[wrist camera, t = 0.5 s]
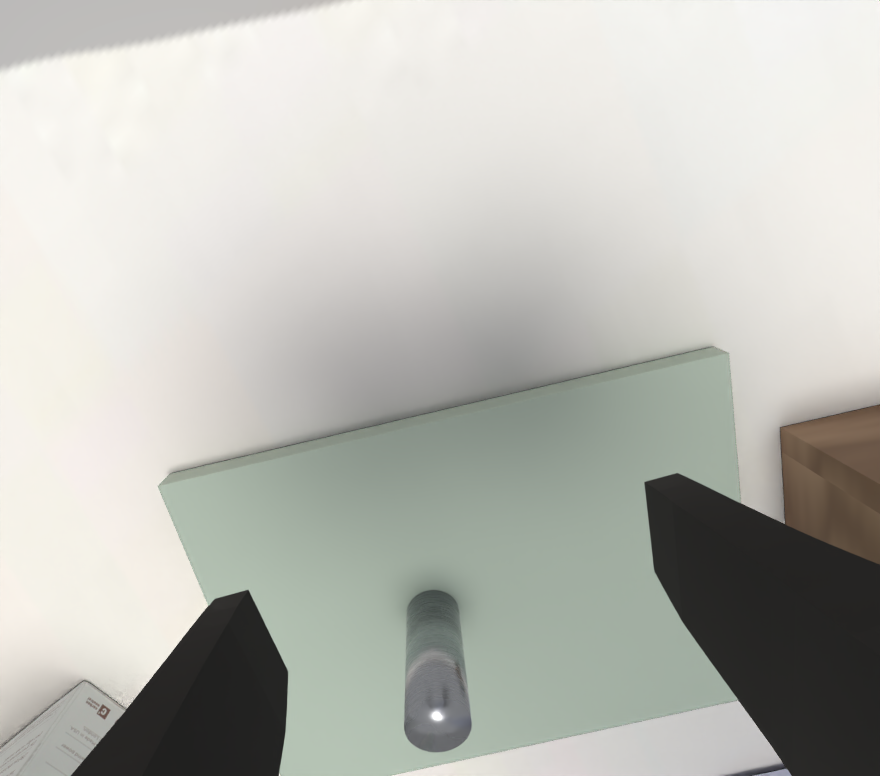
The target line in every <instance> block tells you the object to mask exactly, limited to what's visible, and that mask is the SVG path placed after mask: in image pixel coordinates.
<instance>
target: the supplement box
mask: <svg viewBox="0 0 880 776" xmlns="http://www.w3.org/2000/svg"><path fill="white" fill-rule="evenodd" d="M125 711H126V709H125V708H123V707H122V706H121V705H119V704H118V703H116V702H115V701H114V700H112V699H111V698H110V697H108V696H107V695H106V694H104V693H103V692H101V691H100V690H99V689H97V688H96V687H94V686H93V685H91V684H90V683H88V682H86V681H85V682H82V683H80V684H79V685H78V686H77V687H75V688H74V689H73V690H72V691H70V692H69V693H68V694H66V695H65V696H64V697H63V698H61V699H60V700H59V701H58V702H56V703H55V704H54V705H53V706H51V707H50V708H49V709H48V710H47V711H45V712H44V713H43V714H42V715H40V716H39V717H38V718H37V719H36V720H34V721H33V722H32V723H31V724H30V725H28V726H27V727H26V728H25V729H24V730H22V731H21V732H20V733H19V734H17V735H16V736H15V737H14V738H13V739H11V740H10V741H9V742H8V743H7V744H5V745H4V746H3V747H2V748H1V749H0V776H71V775H72V773H73V772H74V771H75V770H76V769H77V768H78V766H79V765H80V764H81V763H82V762H83V760H84V759H85V758H86V757H87V756H88V755H89V753H90V752H91V751H92V750H93V749H94V747H95V746H96V745H97V744H98V743H99V742H100V740H101V739H102V738H103V737H104V736H105V734H106V733H107V732H108V731H109V730H110V729H111V727H112V726H113V725H114V724H115V723H116V721H117V720H118V719H119V718H120V717H121V716H122V714H123V713H124V712H125Z"/></svg>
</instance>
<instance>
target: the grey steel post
mask: <svg viewBox="0 0 880 776" xmlns="http://www.w3.org/2000/svg"><path fill="white" fill-rule="evenodd" d="M471 728H472V721H471V712H470V703H469V694H468V685H467V676H466V667H465V659H464V650H463V641H462V632H461V623H460V614H459V607H458V604H457V602H456V600H455V599H454V598H453V597H452V596H451V595H449V594H448V593H446V592H443V591H439V590H428V591H424V592H421V593H419V594H418V595H416V596H415V597H414V598H413V599H412V600H411V601H410V603H409V604H408V607H407V617H406V661H405V706H404V731H405V735H406V737H407V739H408V740H409V741H410V742H411V743H412V744H413V745H414V746H415V747H417V748H419V749H421V750H424V751H428V752H445V751H449V750H452V749H454V748H456V747H458V746H460V745H461V744H462V743H463V742H464V741H465V740H466V739H467V738H468V736H469V734H470V732H471Z"/></svg>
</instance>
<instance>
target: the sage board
mask: <svg viewBox="0 0 880 776" xmlns="http://www.w3.org/2000/svg"><path fill="white" fill-rule="evenodd" d="M675 473H679V474H681V475H683V476H686V477H688V478H690V479H692V480H694V481H696V482H698V483H700V484H702V485H704V486H706V487H709V488H711V489H713V490H715V491H717V492H719V493H721V494H723V495H725V496H727V497H729V498H731V499H733V500H735V501H737V502H739V503H741V498H740V486H739V473H738V461H737V448H736V436H735V423H734V411H733V398H732V386H731V373H730V361H729V353H728V352H725V351H723V350H720V349H718V348H716V347H710V348H706V349H701V350H697V351H693V352H688V353H684V354H680V355H676V356H671V357H667V358H663V359H658V360H654V361H650V362H646V363H641V364H637V365H633V366H629V367H624V368H620V369H616V370H611V371H607V372H603V373H599V374H594V375H590V376H586V377H581V378H577V379H573V380H569V381H564V382H560V383H556V384H552V385H547V386H543V387H539V388H534V389H530V390H526V391H522V392H517V393H513V394H509V395H504V396H500V397H496V398H492V399H487V400H483V401H479V402H475V403H470V404H466V405H462V406H457V407H453V408H449V409H445V410H440V411H436V412H432V413H428V414H423V415H419V416H415V417H410V418H406V419H402V420H398V421H393V422H389V423H385V424H380V425H376V426H372V427H368V428H363V429H359V430H355V431H351V432H346V433H342V434H338V435H333V436H329V437H325V438H321V439H316V440H312V441H308V442H303V443H299V444H295V445H291V446H286V447H282V448H278V449H274V450H269V451H265V452H261V453H256V454H252V455H248V456H244V457H239V458H235V459H231V460H226V461H222V462H218V463H214V464H209V465H205V466H201V467H197V468H192V469H188V470H184V471H179V472H175V473H171V474H169V475H168V476H167V477H166V478H165V479H164V480H163V481H162V482H161V483H160V485H159V486H158V488H159V490H160V493H161V495H162V498H163V500H164V502H165V505H166V507H167V509H168V512H169V514H170V516H171V519H172V521H173V523H174V526H175V528H176V531H177V533H178V535H179V538H180V540H181V542H182V545H183V547H184V549H185V552H186V554H187V556H188V559H189V561H190V564H191V566H192V568H193V571H194V573H195V575H196V578H197V580H198V582H199V585H200V587H201V589H202V592H203V594H204V596H205V599H206V601H207V604H208V606H209V605H210V604H211V603H212V601H213V600H214V599H216V598H219V597H223V596H227V595H230V594H234V593H238V592H241V591H245V590H249V592H250V594H251V596H252V598H253V600H254V602H255V604H256V606H257V608H258V610H259V612H260V614H261V616H262V618H263V621H264V623H265V625H266V627H267V629H268V631H269V633H270V635H271V637H272V639H273V641H274V643H275V645H276V647H277V649H278V651H279V653H280V655H281V658H282V660H283V662H284V664H285V666H286V668H287V670H288V696H287V717H286V733H285V739H284V746H283V752H282V759H281V765H280V771H279V773H280V776H392V775H396V774H401V773H405V772H410V771H415V770H419V769H424V768H428V767H433V766H438V765H442V764H447V763H452V762H456V761H461V760H465V759H470V758H475V757H479V756H484V755H488V754H493V753H498V752H502V751H507V750H511V749H516V748H521V747H525V746H530V745H535V744H539V743H544V742H548V741H553V740H558V739H562V738H567V737H571V736H576V735H581V734H585V733H590V732H594V731H599V730H604V729H608V728H613V727H618V726H622V725H627V724H631V723H636V722H641V721H645V720H650V719H654V718H659V717H664V716H668V715H673V714H677V713H682V712H687V711H691V710H696V709H701V708H705V707H710V706H714V705H719V704H724V703H728V702H733V701H737V700H738V699H737V697H736V696H735V695H734V693H733V692H732V691H731V689H730V688H729V686H728V685H727V684H726V682H725V681H724V680H723V678H722V677H721V675H720V674H719V673H718V671H717V670H716V669H715V667H714V666H713V664H712V663H711V662H710V660H709V659H708V657H707V656H706V655H705V653H704V652H703V650H702V649H701V648H700V646H699V645H698V643H697V642H696V641H695V639H694V638H693V636H692V635H691V634H690V632H689V631H688V629H687V628H686V626H685V625H684V624H683V622H682V620H681V619H680V617H679V615H678V613H677V612H676V610H675V608H674V606H673V605H672V603H671V601H670V599H669V597H668V596H667V594H666V592H665V590H664V588H663V586H662V585H661V583H660V581H659V579H658V577H657V575H656V574H655V572H654V565H653V556H652V547H651V538H650V529H649V520H648V511H647V502H646V493H645V484H644V482H646V481H649V480H653V479H657V478H660V477H664V476H668V475H671V474H675ZM428 590H439V591H443V592H446V593H448V594H449V595H451V596H452V597H453V598H454V599H455V600H456V602H457V604H458V607H459V614H460V623H461V632H462V641H463V650H464V659H465V667H466V676H467V685H468V694H469V703H470V712H471V721H472V728H471V732H470V734H469V736H468V738H467V739H466V740H465V741H464V742H463V743H462V744H461V745H460V746H458V747H456V748H454V749H452V750H449V751H445V752H428V751H424V750H421V749H419V748H417V747H415V746H414V745H413V744H412V743H411V742H410V741H409V740H408V739H407V737H406V735H405V731H404V706H405V661H406V617H407V607H408V604H409V603H410V601H411V600H412V599H413V598H414V597H415V596H416V595H418V594H419V593H421V592H424V591H428Z"/></svg>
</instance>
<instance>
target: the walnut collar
mask: <svg viewBox="0 0 880 776" xmlns="http://www.w3.org/2000/svg"><path fill="white" fill-rule="evenodd" d="M780 432H781V450H782V469H783V487H784V506H785V524H786V525H787V526H790V527H792V528H794V529H796V530H798V531H801V532H803V533H805V534H807V535H810V536H812V537H814V538H817V539H819V540H821V541H823V542H826V543H828V544H830V545H833V546H835V547H838V548H840V549H843V550H845V551H848V552H850V553H852V554H855V555H857V556H860V557H862V558H865V559H867V560H870V561H872V562H874V563H877V564H880V405H877V406H872V407H868V408H864V409H859V410H855V411H851V412H846V413H842V414H838V415H833V416H829V417H824V418H820V419H816V420H811V421H807V422H803V423H798V424H794V425H790V426H785V427H781V428H780Z"/></svg>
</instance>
